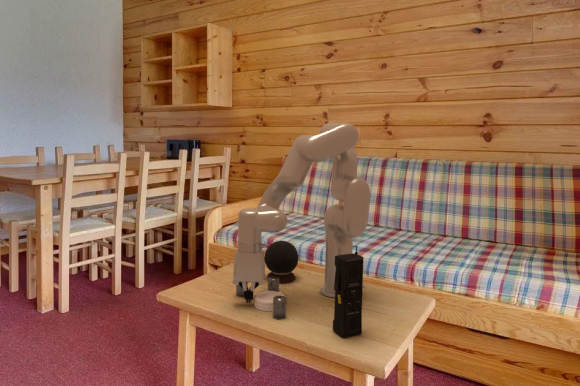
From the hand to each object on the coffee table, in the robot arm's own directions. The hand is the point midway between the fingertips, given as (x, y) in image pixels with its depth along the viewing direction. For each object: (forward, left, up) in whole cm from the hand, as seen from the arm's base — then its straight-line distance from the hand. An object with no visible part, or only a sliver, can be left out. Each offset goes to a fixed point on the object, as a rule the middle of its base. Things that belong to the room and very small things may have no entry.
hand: (248, 301), depth 147 cm
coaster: (-7, 0, -2) cm, 7 cm away
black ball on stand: (-11, -26, -2) cm, 28 cm away
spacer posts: (-3, 0, -1) cm, 3 cm away
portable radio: (-29, +20, -2) cm, 35 cm away
